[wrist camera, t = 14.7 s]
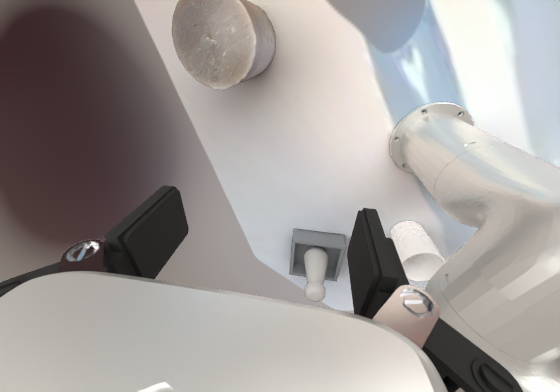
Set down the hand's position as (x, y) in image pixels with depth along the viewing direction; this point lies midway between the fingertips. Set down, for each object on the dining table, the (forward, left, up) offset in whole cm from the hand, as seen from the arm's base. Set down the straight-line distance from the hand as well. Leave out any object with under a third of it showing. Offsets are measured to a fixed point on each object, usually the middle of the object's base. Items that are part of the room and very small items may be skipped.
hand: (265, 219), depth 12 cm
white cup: (-25, +26, -34) cm, 49 cm away
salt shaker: (-6, +35, -33) cm, 48 cm away
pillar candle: (+10, -8, -34) cm, 36 cm away
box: (-6, +35, -33) cm, 49 cm away
